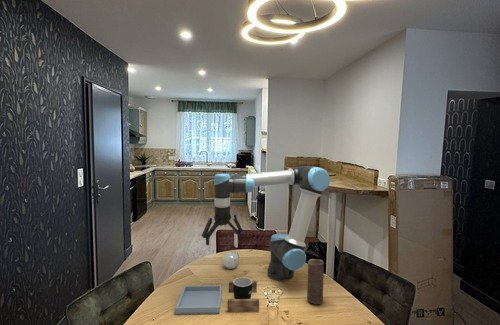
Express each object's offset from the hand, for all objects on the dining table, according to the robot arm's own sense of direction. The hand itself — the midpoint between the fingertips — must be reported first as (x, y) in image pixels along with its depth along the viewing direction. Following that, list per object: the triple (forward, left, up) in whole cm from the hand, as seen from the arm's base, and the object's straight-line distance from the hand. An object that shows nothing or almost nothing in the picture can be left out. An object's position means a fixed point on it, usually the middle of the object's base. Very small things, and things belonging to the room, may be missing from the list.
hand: (222, 249), depth 133 cm
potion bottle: (-3, -33, -24) cm, 41 cm away
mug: (-10, +5, -24) cm, 26 cm away
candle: (-44, +7, -24) cm, 50 cm away
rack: (-10, +5, -23) cm, 26 cm away
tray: (+10, +5, -23) cm, 26 cm away
